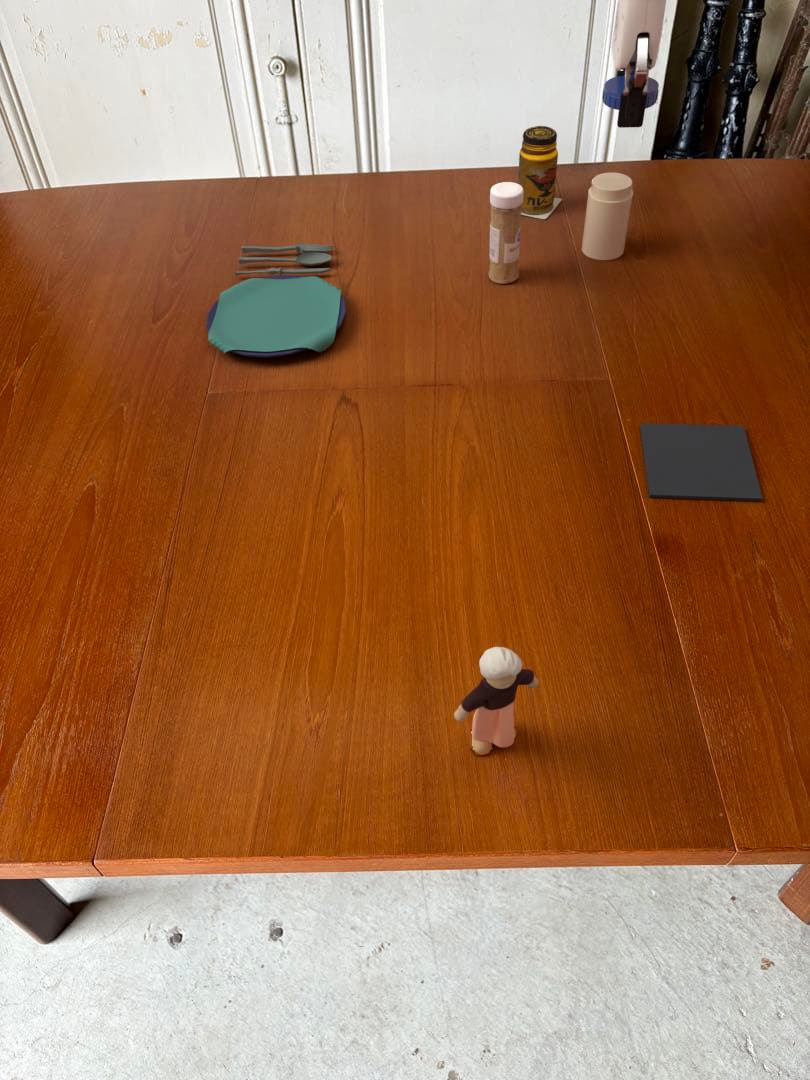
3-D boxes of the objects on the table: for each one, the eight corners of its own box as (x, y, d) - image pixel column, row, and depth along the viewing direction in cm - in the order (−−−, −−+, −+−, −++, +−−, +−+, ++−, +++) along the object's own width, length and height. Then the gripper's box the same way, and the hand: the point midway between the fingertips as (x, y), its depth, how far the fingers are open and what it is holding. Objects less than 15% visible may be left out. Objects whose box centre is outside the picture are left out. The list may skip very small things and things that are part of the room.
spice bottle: (518, 285, 119) (523, 196, 109) (487, 285, 120) (489, 196, 110) (518, 268, 122) (523, 180, 112) (488, 268, 123) (490, 180, 113)
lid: (603, 112, 105) (605, 96, 104) (601, 90, 110) (602, 75, 108) (659, 110, 104) (661, 94, 103) (654, 89, 109) (656, 73, 107)
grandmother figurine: (476, 774, 70) (479, 699, 60) (449, 742, 72) (447, 664, 62) (543, 725, 72) (556, 645, 63) (515, 695, 75) (523, 614, 65)
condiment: (545, 220, 132) (552, 144, 122) (497, 210, 134) (500, 135, 125) (562, 200, 136) (569, 125, 127) (515, 191, 139) (519, 117, 130)
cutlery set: (196, 369, 110) (192, 355, 108) (232, 253, 130) (229, 240, 128) (342, 365, 109) (340, 351, 107) (356, 249, 129) (355, 235, 127)
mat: (742, 428, 97) (743, 425, 96) (761, 501, 89) (762, 498, 88) (639, 426, 98) (640, 423, 97) (649, 497, 90) (649, 494, 90)
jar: (622, 238, 127) (633, 170, 119) (625, 260, 122) (637, 191, 114) (580, 238, 127) (588, 171, 119) (582, 260, 123) (590, 191, 115)
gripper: (612, -65, 101) (595, 89, 114) (621, -23, 90) (601, 143, 103) (674, -68, 100) (650, 88, 113) (691, -26, 89) (662, 142, 102)
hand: (627, 113), depth 108 cm, fingers closed on lid, 6 cm apart
